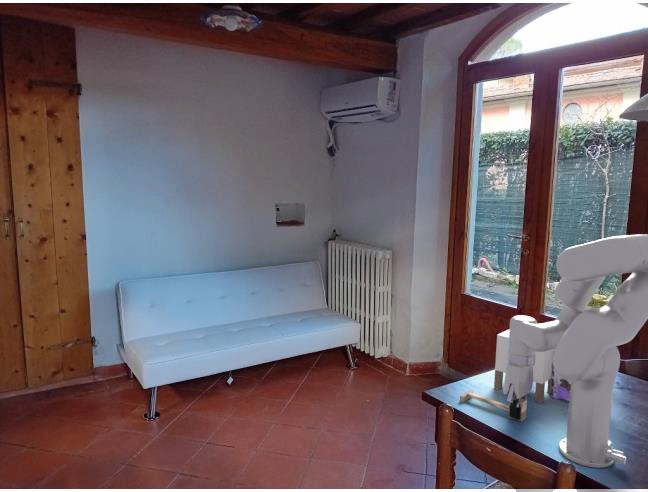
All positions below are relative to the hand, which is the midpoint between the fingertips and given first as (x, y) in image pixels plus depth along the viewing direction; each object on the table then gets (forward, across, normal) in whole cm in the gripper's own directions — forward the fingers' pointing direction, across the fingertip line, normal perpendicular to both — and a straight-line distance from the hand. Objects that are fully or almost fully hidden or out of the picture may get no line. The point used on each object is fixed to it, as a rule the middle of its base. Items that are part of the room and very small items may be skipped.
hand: (517, 415), depth 145 cm
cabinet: (+1, -21, -7) cm, 22 cm away
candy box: (+1, -25, +8) cm, 26 cm away
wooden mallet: (+1, 0, -8) cm, 8 cm away
